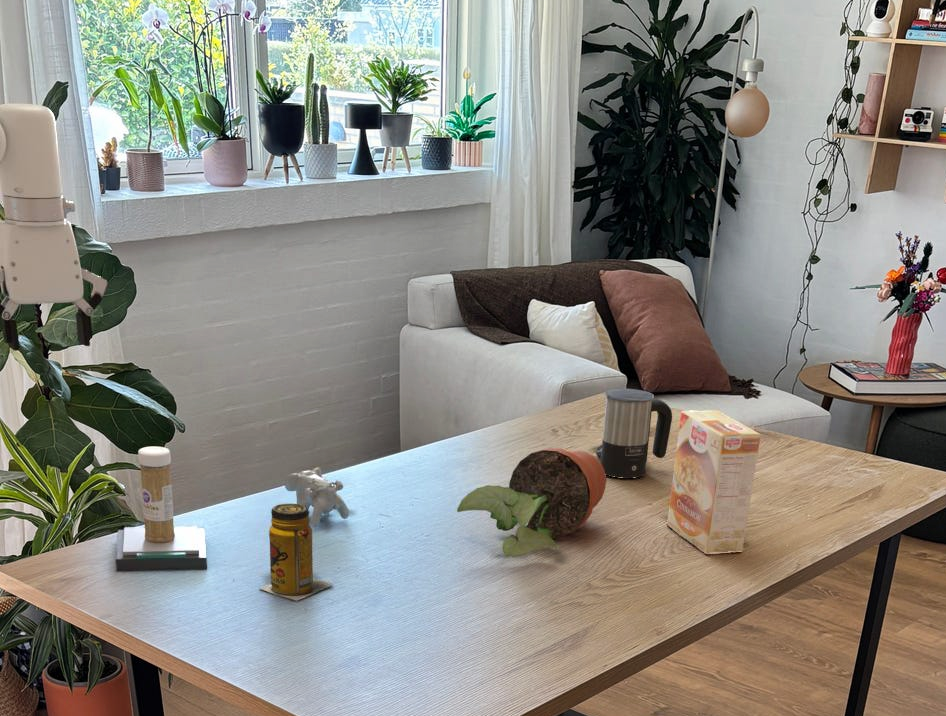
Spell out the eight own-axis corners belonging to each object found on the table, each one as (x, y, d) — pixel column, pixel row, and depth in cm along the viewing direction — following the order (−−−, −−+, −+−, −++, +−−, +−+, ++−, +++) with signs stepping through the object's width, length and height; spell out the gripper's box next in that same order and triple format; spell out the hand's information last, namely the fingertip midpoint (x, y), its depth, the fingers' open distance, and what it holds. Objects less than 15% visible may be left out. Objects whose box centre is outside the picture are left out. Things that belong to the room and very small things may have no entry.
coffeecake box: (664, 526, 222) (679, 410, 212) (702, 523, 224) (718, 409, 214) (704, 556, 209) (722, 434, 200) (743, 553, 212) (763, 433, 202)
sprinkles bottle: (138, 540, 195) (131, 450, 188) (157, 531, 199) (150, 443, 192) (163, 545, 193) (157, 455, 187) (182, 537, 197) (176, 448, 190)
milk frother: (621, 482, 242) (630, 402, 235) (562, 462, 252) (569, 383, 245) (672, 471, 250) (682, 393, 243) (613, 452, 260) (621, 376, 253)
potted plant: (532, 518, 227) (439, 560, 198) (546, 430, 220) (453, 460, 191) (614, 541, 221) (532, 586, 192) (632, 451, 214) (549, 485, 185)
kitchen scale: (116, 571, 190) (115, 555, 189) (118, 541, 201) (117, 526, 200) (207, 569, 193) (206, 553, 192) (204, 539, 204) (203, 524, 202)
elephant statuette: (326, 532, 209) (326, 486, 206) (264, 519, 214) (262, 473, 210) (356, 517, 217) (356, 472, 213) (295, 504, 221) (294, 459, 217)
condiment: (258, 589, 187) (255, 508, 181) (297, 573, 193) (295, 494, 187) (296, 602, 183) (294, 519, 177) (335, 586, 190) (334, 505, 184)
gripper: (90, 206, 177) (102, 337, 186) (-41, 207, 169) (-22, 344, 177) (108, 213, 172) (120, 348, 180) (-27, 215, 163) (-8, 356, 172)
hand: (49, 346), depth 179 cm, fingers open, 9 cm apart
